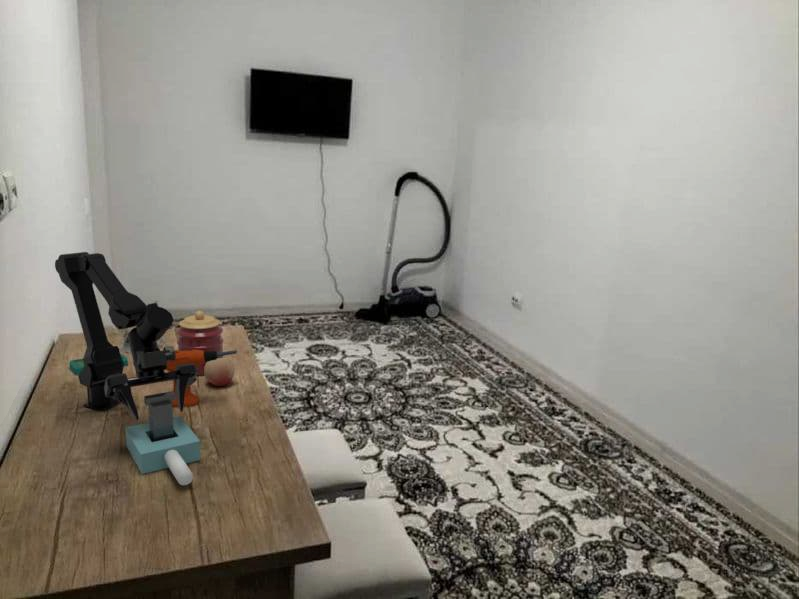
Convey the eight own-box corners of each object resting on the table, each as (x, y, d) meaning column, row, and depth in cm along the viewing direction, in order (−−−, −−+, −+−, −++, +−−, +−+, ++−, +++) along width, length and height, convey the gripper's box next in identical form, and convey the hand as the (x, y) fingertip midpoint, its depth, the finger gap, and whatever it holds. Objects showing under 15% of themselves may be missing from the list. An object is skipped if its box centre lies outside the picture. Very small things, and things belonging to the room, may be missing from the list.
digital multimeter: (130, 367, 186) (129, 357, 185) (75, 377, 177) (74, 367, 176) (122, 359, 192) (121, 350, 191) (68, 369, 182) (68, 359, 181)
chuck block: (126, 445, 139) (125, 427, 138) (181, 433, 146) (180, 416, 145) (154, 497, 120) (153, 476, 119) (216, 481, 127) (215, 461, 126)
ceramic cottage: (145, 333, 215) (141, 291, 211) (176, 345, 207) (173, 302, 202) (103, 347, 203) (98, 303, 198) (134, 360, 195) (130, 314, 190)
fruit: (231, 377, 181) (230, 351, 179) (236, 387, 174) (236, 360, 172) (202, 380, 178) (201, 354, 176) (207, 391, 171) (206, 363, 169)
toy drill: (243, 397, 164) (235, 344, 160) (168, 411, 160) (157, 356, 155) (243, 390, 168) (235, 338, 164) (169, 403, 164) (159, 349, 160)
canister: (175, 377, 179) (173, 317, 175) (180, 361, 191) (178, 305, 187) (223, 375, 182) (222, 316, 178) (224, 360, 194) (223, 305, 190)
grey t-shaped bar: (145, 452, 137) (142, 394, 134) (174, 445, 140) (171, 389, 137) (150, 460, 134) (147, 400, 131) (179, 453, 137) (176, 395, 134)
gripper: (103, 340, 130) (117, 409, 124) (194, 329, 140) (211, 392, 134) (98, 363, 138) (111, 429, 132) (184, 351, 149) (200, 412, 143)
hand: (160, 415), depth 135 cm, fingers open, 9 cm apart
